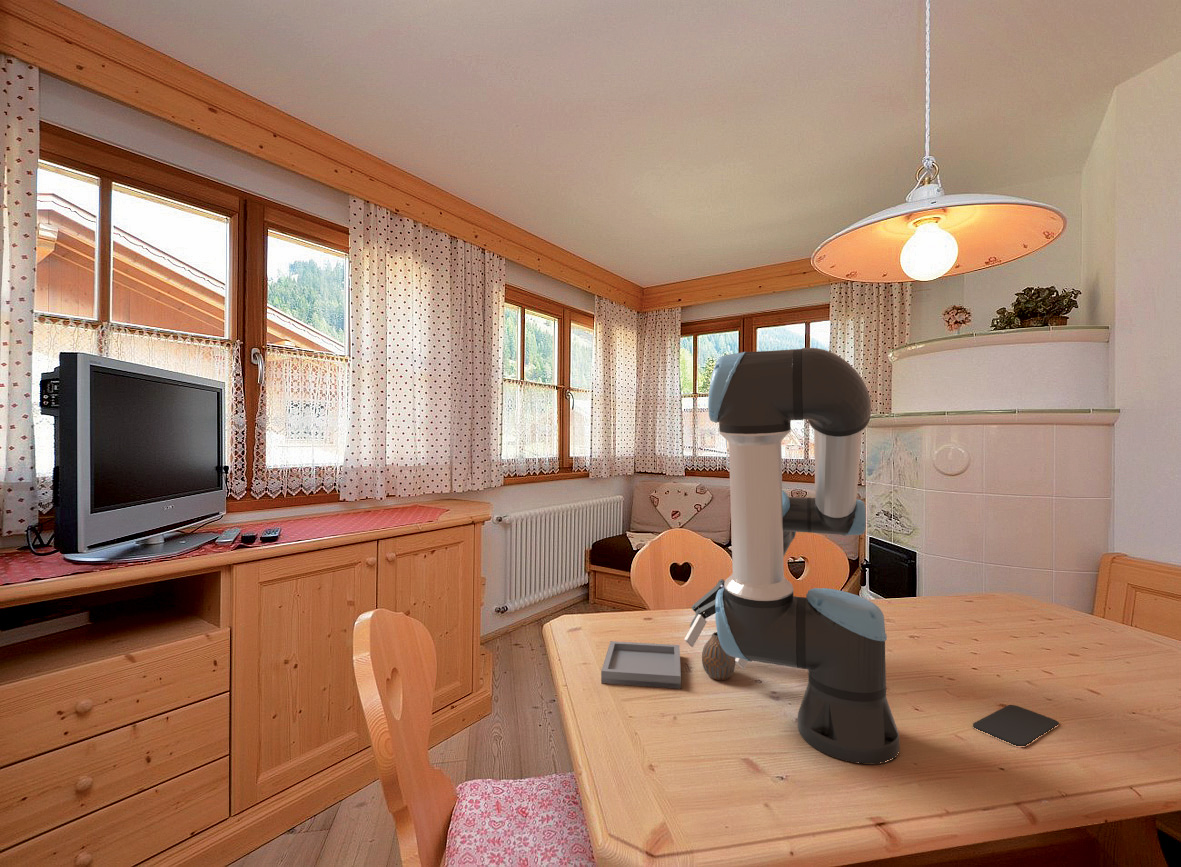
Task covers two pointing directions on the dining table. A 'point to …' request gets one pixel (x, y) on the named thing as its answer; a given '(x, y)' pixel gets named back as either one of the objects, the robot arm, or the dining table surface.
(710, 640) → the vase
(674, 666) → the tray
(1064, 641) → the dining table surface
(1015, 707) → the phone
